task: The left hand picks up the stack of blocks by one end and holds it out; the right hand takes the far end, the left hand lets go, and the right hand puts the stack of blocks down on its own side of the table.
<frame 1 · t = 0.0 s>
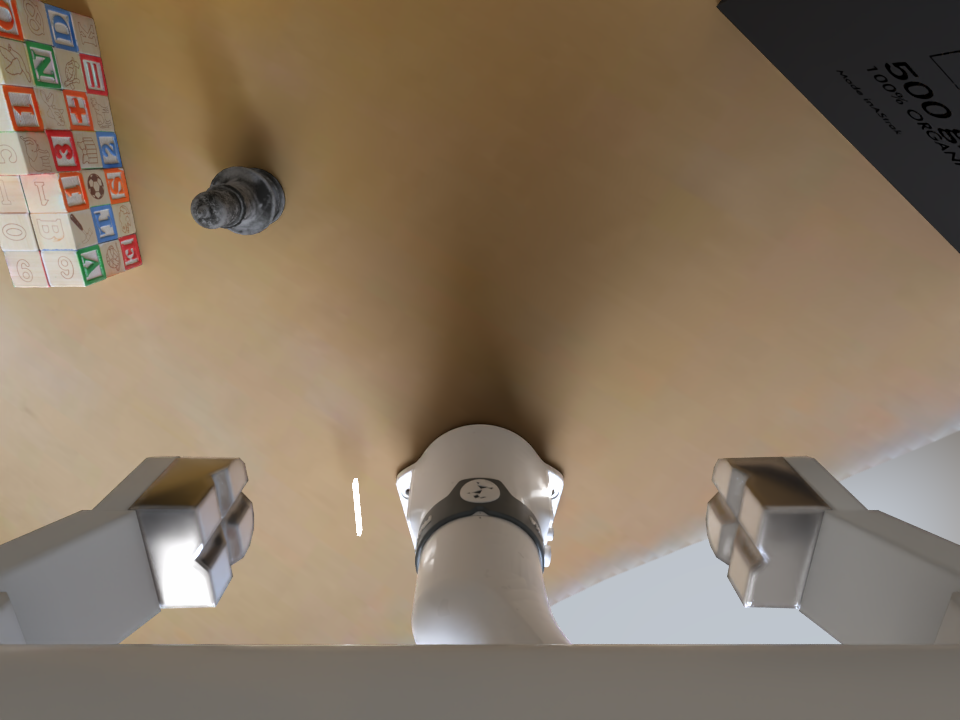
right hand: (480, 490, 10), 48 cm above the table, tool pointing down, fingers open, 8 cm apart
stack of blocks: (87, 149, 53), on the table
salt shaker: (257, 197, 55), on the table
cardboard box: (952, 54, 50), on the table
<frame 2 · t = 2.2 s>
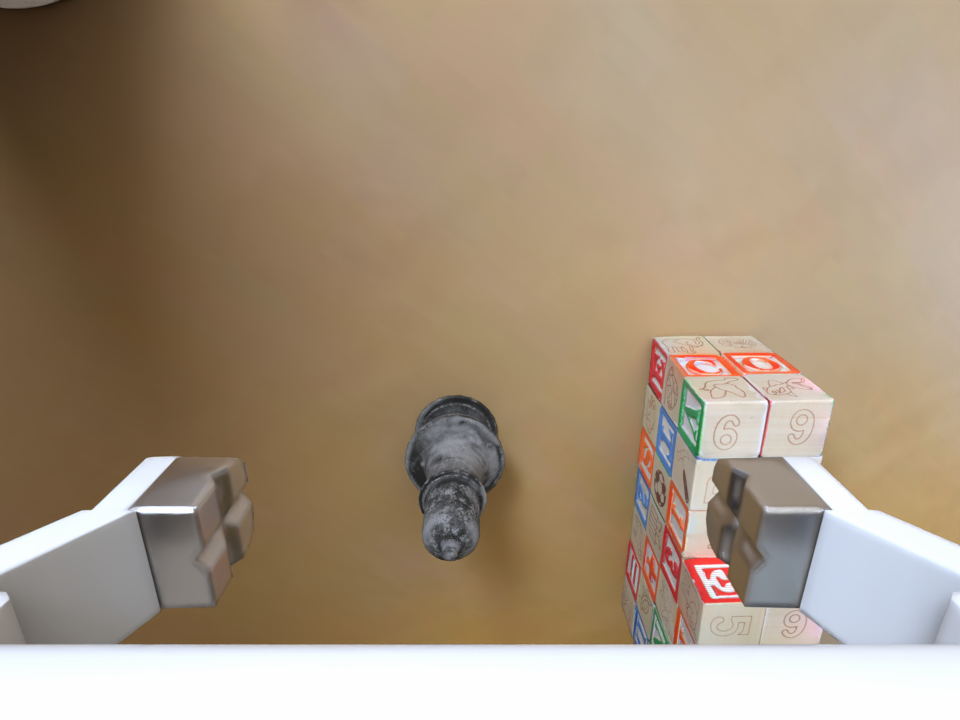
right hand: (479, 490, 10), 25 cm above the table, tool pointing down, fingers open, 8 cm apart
stack of blocks: (679, 482, 39), on the table, touching left hand
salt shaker: (456, 430, 38), on the table
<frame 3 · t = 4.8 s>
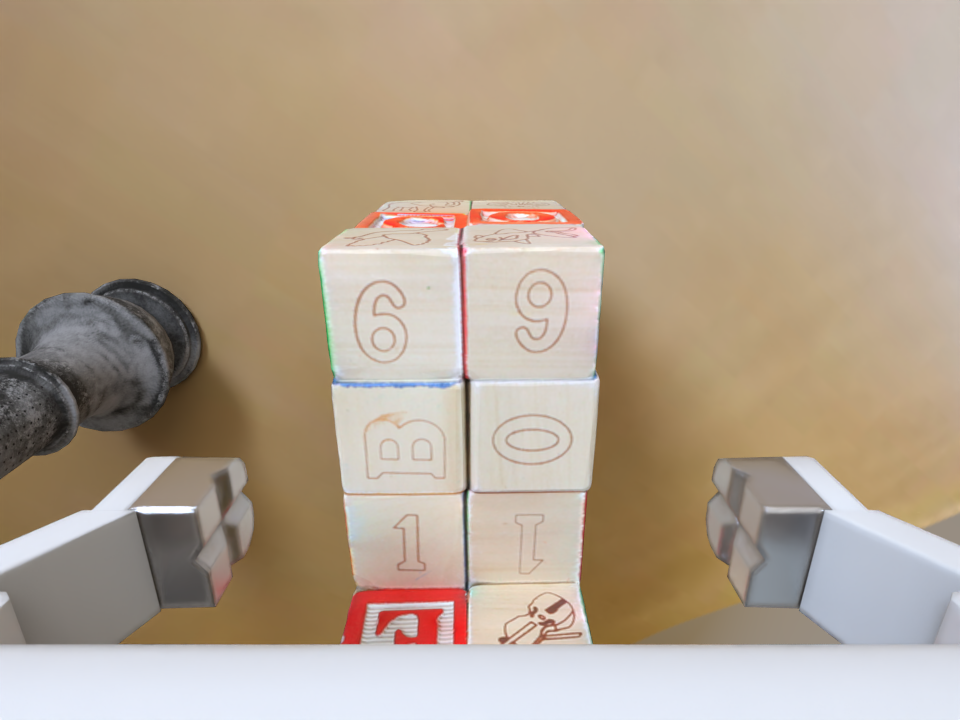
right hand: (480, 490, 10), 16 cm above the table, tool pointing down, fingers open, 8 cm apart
stack of blocks: (471, 458, 25), point 4 cm above the table, touching left hand
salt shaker: (143, 334, 26), on the table
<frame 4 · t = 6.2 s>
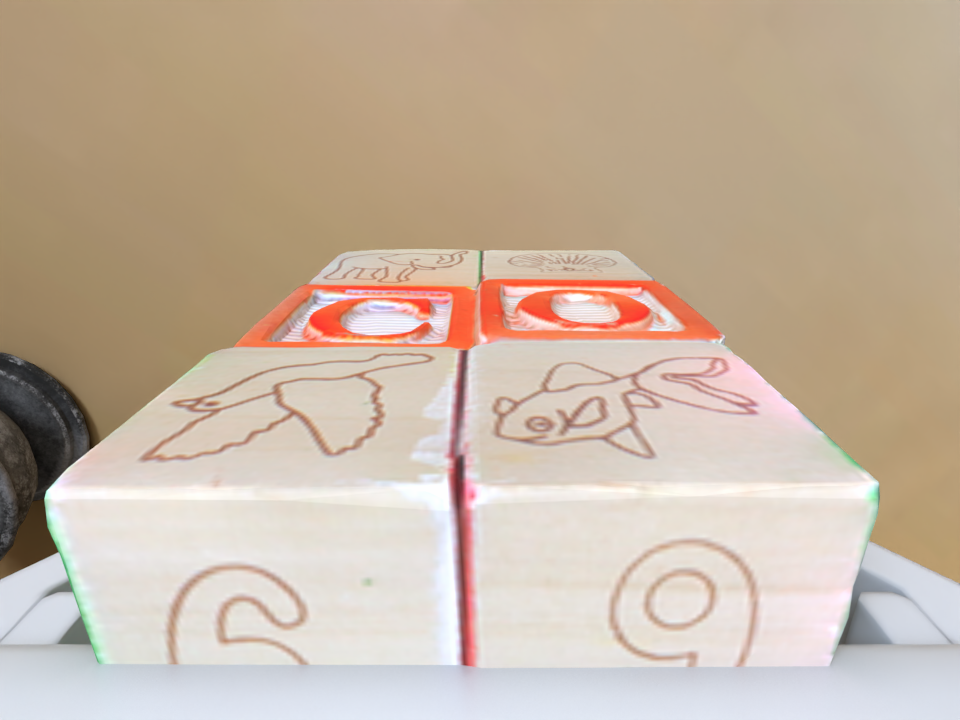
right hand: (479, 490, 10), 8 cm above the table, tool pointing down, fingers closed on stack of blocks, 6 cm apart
stack of blocks: (478, 621, 17), point 4 cm above the table, touching right hand, left hand
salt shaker: (8, 425, 18), on the table
when the left hand's fingers open (12 cm above the table, at t = 7.5 s): stack of blocks stays where it is, held by the right hand.
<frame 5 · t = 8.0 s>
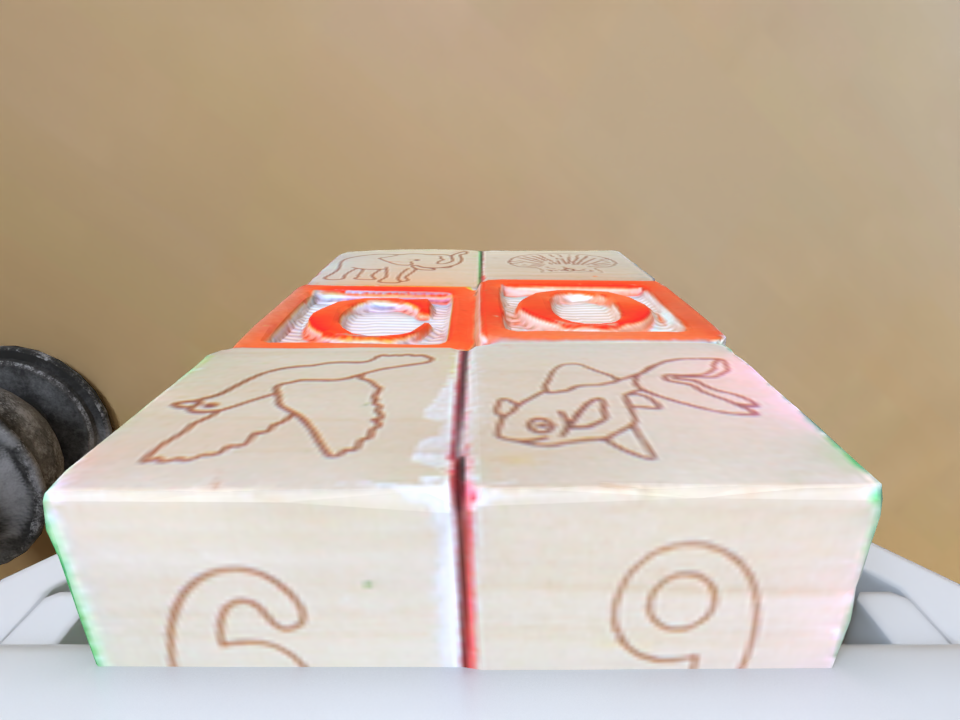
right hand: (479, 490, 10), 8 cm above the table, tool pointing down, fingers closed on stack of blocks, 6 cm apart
stack of blocks: (478, 622, 16), point 4 cm above the table, touching right hand
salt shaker: (34, 419, 19), on the table
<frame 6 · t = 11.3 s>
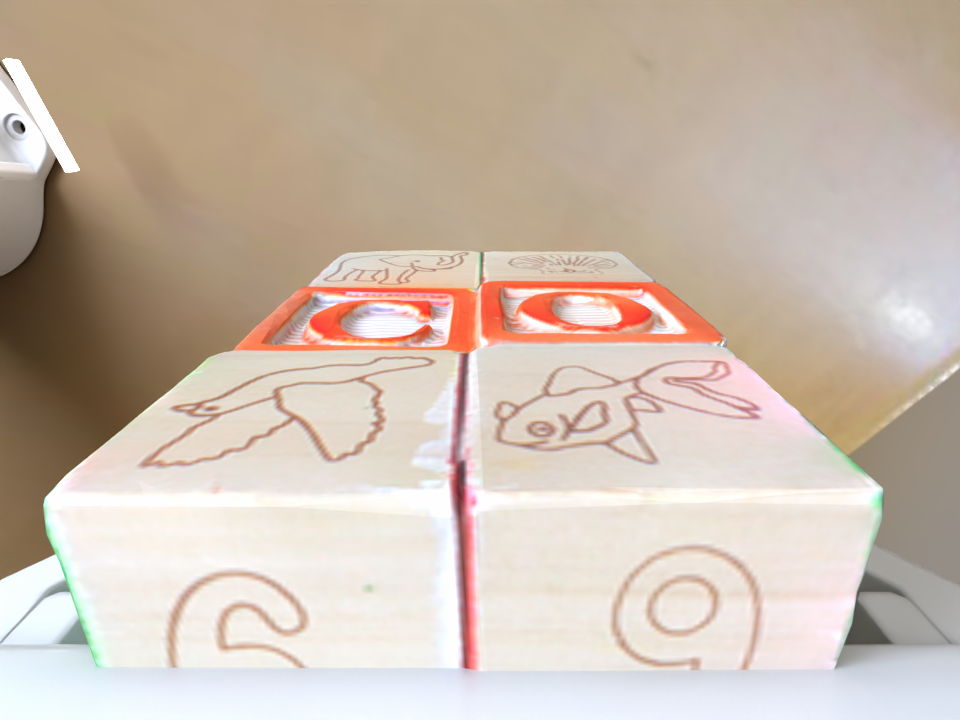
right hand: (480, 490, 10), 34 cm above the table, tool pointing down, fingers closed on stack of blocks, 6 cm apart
stack of blocks: (478, 622, 17), point 30 cm above the table, touching right hand
when the right hand's fingers open (6 cm above the table, at t = 16.5 s): stack of blocks drops 2 cm, on the table.
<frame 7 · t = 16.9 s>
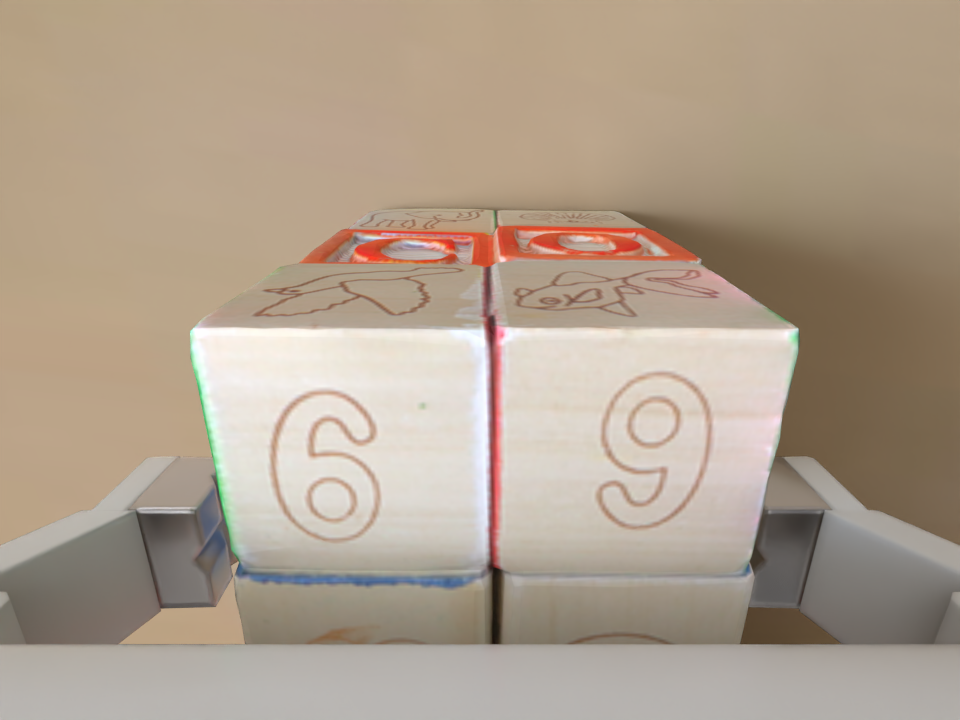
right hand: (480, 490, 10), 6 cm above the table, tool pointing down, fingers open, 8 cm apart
stack of blocks: (486, 557, 18), on the table
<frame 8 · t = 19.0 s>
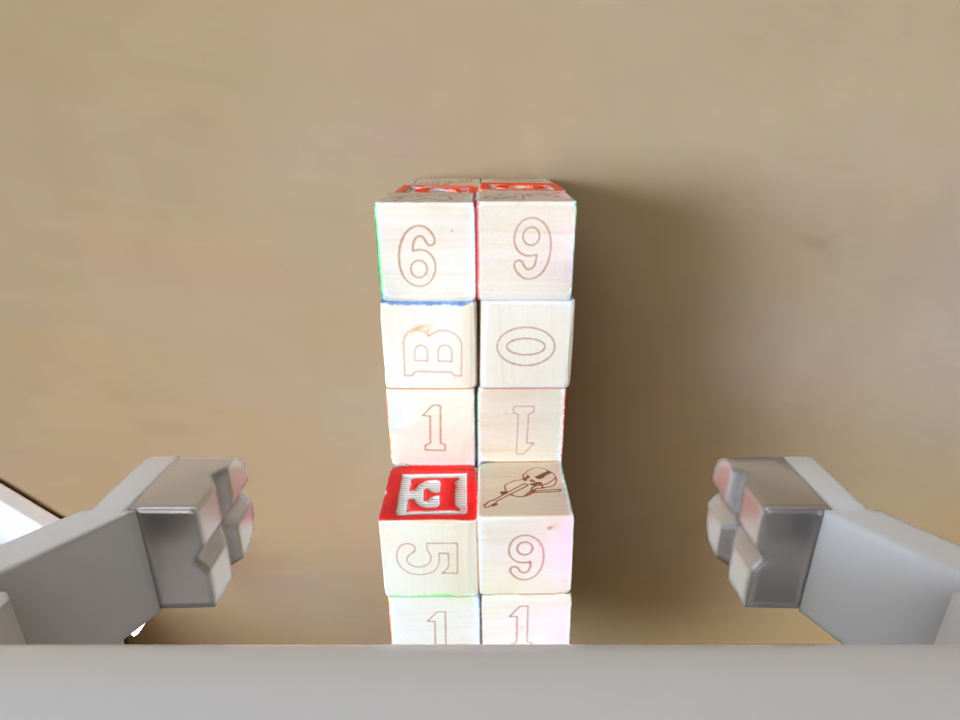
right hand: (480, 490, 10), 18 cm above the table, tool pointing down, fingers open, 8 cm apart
stack of blocks: (478, 395, 30), on the table
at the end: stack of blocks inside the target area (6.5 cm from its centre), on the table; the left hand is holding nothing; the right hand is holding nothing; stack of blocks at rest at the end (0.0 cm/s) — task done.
